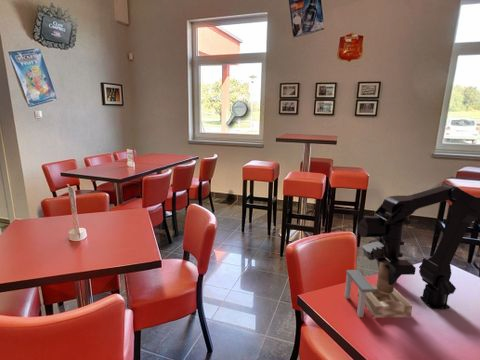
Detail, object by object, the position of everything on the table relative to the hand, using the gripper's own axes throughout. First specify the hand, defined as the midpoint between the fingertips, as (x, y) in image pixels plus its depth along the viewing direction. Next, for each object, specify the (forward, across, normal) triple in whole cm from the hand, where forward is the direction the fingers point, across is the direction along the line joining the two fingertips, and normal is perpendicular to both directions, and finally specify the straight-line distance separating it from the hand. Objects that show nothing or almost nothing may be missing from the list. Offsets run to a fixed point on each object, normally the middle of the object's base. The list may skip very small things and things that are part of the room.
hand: (386, 280), depth 97 cm
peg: (+3, 0, 0) cm, 3 cm away
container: (+10, -15, +11) cm, 21 cm away
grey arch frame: (+9, 0, -9) cm, 13 cm away
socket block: (+9, 0, 0) cm, 9 cm away
